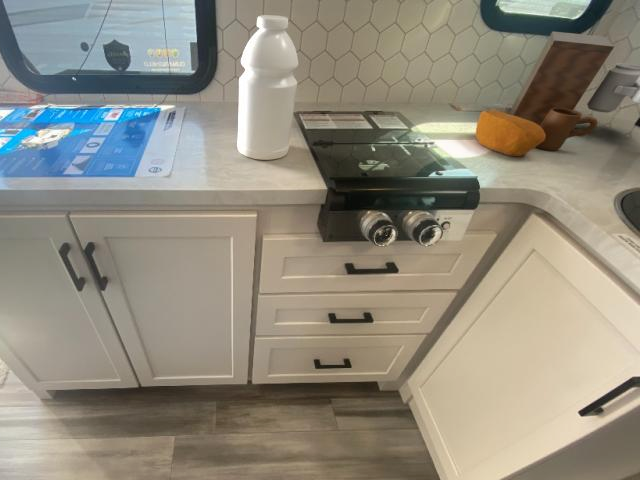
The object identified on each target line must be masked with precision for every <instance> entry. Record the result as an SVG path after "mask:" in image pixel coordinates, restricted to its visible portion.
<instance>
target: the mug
mask: <svg viewBox="0 0 640 480" xmlns="http://www.w3.org/2000/svg"><path fill="white" fill-rule="evenodd" d="M583 124H589V125H588V126H587V127H586V128H584V129H575V128H576V126H578V125H583ZM540 127H541V128H542V129H543V130H544V132H545V135H546V137H545V140H544V141H543V142H542V143H541V144H539V145H537V146H536V147H535V148H537V149H540V150H543V151H544V150H545V151H551V152H553V151H558V150H560V149H561V148H562V146H563V145H564V144H565V143H566V141H567V139H570V138H573V137H584V136H586V135H589V134H591V133H592V132H593V131H594V130H595V129H596V128H597V127H598V119H597V118H596V117H593V116H584V117H583V113H581V112H579V111H577V110H570V109H565V108H552V109H551V110H550V111H549V113H548V114H547V116H546V117H545V119H544V120H543V122H542V124H541V125H540Z"/></svg>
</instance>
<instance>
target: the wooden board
mask: <svg viewBox="0 0 640 480" xmlns="http://www.w3.org/2000/svg"><path fill="white" fill-rule="evenodd" d="M614 48H615V45H614V44H613V43H611V42H610V40H608V38H607V37H606V36H605V35H604V36H603V35H594V34H593V35H592V34H582V33H572V32H561V31H551V33H550V35H549V37H548V39H547V41H546V42H545V44H544V47H543V48H542V50H541V52H540V54H539V56H538V57H537V60H536V61H535V63H534V65H533V67H532V69H531V71H530V73H529V74H528V76H527V78H526V80H525V82H524V84H523V86H522V88H521V89H520V91H519V93H518V95H517V97H516V98H515V101H514V102H513V104H512V106H511V109H510V113H509V114H510V115H514V116H517V117H520V118H523V119H526V120H529V121H531V122H534V123H536V124H538V125H539V126H540V125H541V124H542V122H543V120H544V119H545V117H546V116H547V114H548V113H549V111H550V110H551V109H552V108H565V109H570V110H574V109H575V108H576V107H577V105H578V104H579V102H580V100H581V99H582V98H583V96H584V95H585V93H586V91H587V89H588V88H589V86H590V85H591V84H592V82H593V81H594V79H595V77H596V76H597V74H598V73H599V71H600V70H601V68H602V67H603V65H604V63H605V62H606V60H607V59H608V57H609V56H610V54H611V53H612V52H613V49H614ZM574 111H575V110H574Z"/></svg>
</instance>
